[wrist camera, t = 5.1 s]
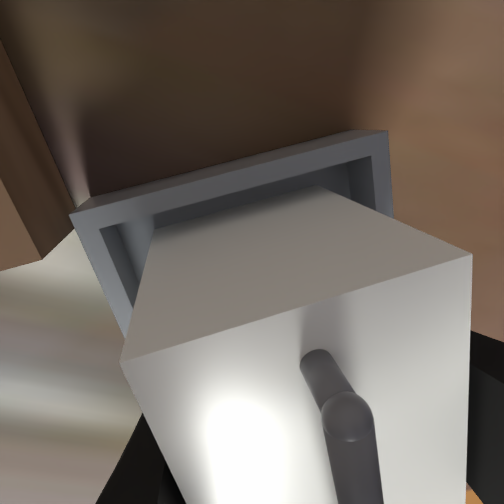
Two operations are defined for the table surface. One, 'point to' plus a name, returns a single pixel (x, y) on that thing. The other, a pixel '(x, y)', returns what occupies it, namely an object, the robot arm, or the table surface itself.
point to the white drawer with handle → (304, 355)
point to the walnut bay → (27, 181)
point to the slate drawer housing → (223, 201)
